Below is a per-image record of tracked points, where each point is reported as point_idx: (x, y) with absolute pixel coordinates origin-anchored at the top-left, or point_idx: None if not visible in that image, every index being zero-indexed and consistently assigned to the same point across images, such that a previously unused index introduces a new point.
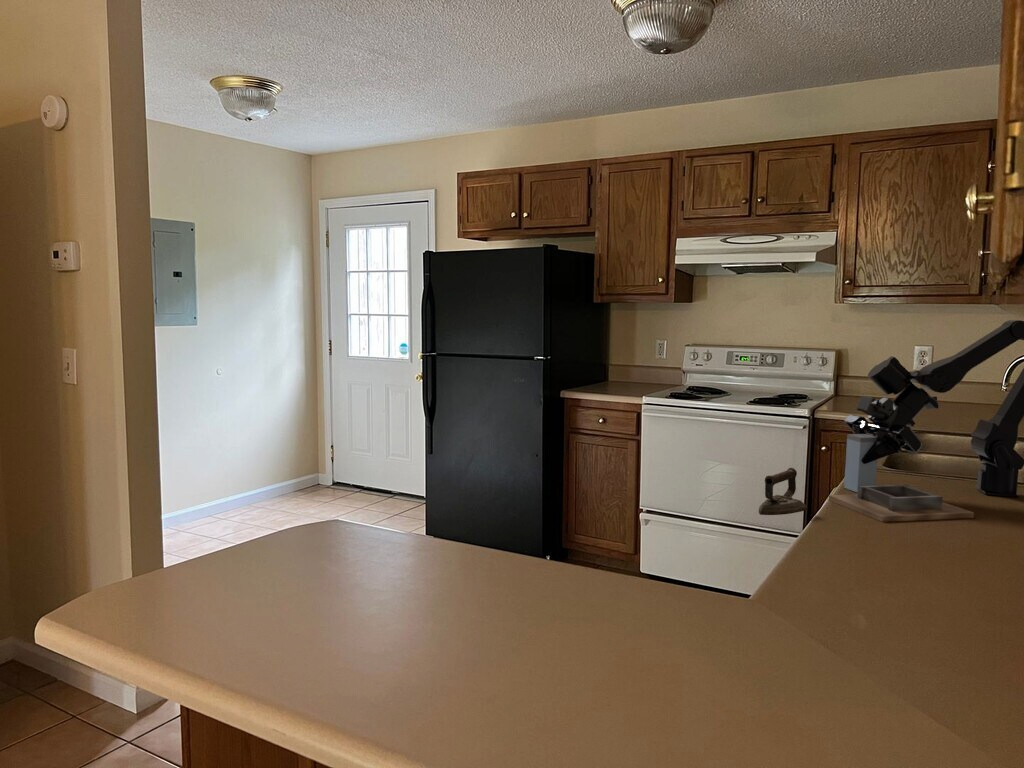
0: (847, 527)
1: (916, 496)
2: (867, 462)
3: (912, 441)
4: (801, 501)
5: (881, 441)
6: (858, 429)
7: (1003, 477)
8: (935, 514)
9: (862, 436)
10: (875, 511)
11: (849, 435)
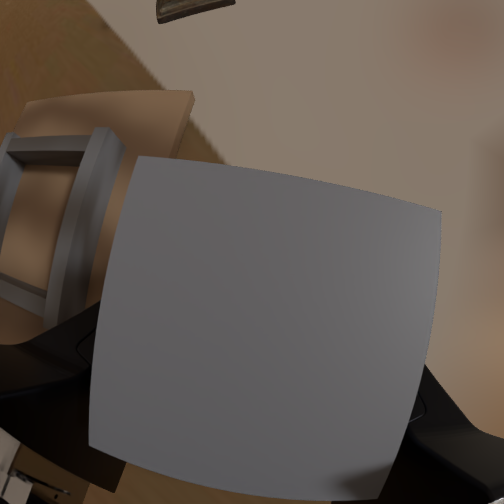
0: (61, 43)
1: None
2: None
3: None
4: (162, 4)
5: (18, 345)
6: (480, 465)
7: None
8: None
9: (210, 283)
10: (45, 110)
11: (395, 202)
